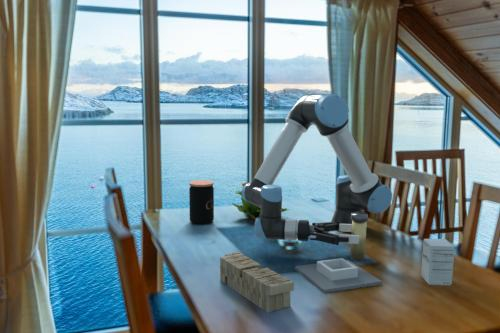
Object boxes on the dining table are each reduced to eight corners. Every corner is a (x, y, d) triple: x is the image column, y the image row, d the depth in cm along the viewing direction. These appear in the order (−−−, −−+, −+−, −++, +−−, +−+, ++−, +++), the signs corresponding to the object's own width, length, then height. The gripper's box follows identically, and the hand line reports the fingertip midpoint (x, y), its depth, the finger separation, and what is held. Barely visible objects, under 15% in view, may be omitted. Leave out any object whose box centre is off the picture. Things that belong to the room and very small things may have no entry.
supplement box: (420, 276, 156) (423, 238, 154) (443, 276, 156) (446, 238, 153) (427, 285, 148) (430, 245, 146) (452, 285, 148) (455, 246, 146)
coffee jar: (209, 226, 209) (209, 185, 207) (186, 224, 212) (185, 184, 209) (216, 219, 220) (216, 180, 217) (194, 218, 222) (193, 179, 219)
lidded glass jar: (360, 254, 176) (362, 211, 173) (369, 259, 170) (371, 215, 168) (346, 255, 174) (348, 212, 171) (354, 261, 168) (357, 216, 166)
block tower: (217, 281, 152) (270, 315, 128) (217, 255, 151) (269, 285, 127) (239, 276, 156) (294, 308, 132) (239, 251, 155) (294, 279, 131)
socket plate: (347, 262, 167) (347, 251, 167) (381, 284, 149) (382, 271, 148) (294, 269, 160) (295, 257, 160) (323, 293, 142) (324, 280, 141)
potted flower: (294, 214, 230) (295, 178, 228) (281, 227, 208) (282, 187, 205) (245, 209, 238) (245, 174, 236) (227, 222, 216) (227, 183, 213)
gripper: (300, 230, 187) (356, 233, 183) (294, 251, 162) (359, 255, 159) (300, 211, 185) (357, 214, 182) (294, 229, 161) (360, 233, 158)
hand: (358, 233), depth 170 cm, fingers open, 13 cm apart
